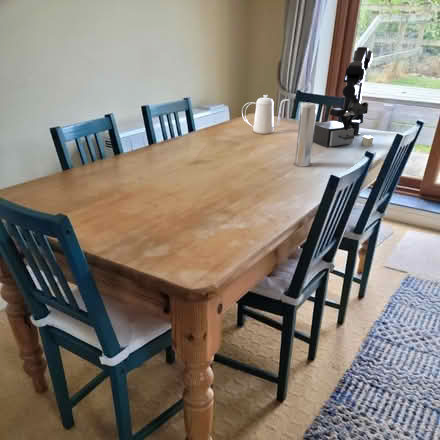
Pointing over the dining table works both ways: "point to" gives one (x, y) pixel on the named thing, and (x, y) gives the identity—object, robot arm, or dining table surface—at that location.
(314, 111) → the silver metal cylinder
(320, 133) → the grey sliding drawer unit
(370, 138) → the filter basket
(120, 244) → the dining table surface
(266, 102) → the coffeepot
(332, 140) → the drawer
